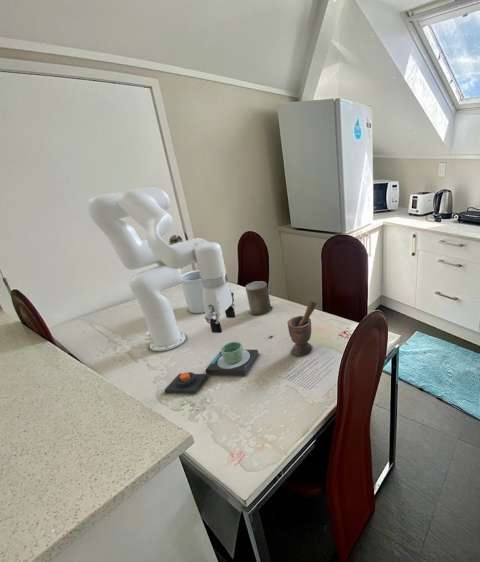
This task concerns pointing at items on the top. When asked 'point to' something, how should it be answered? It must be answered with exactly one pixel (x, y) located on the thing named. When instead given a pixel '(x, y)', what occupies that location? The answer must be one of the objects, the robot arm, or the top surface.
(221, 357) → the scale
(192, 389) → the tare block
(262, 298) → the pillar candle
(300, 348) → the mortar and pestle
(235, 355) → the bowl
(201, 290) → the utensil holder
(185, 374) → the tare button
